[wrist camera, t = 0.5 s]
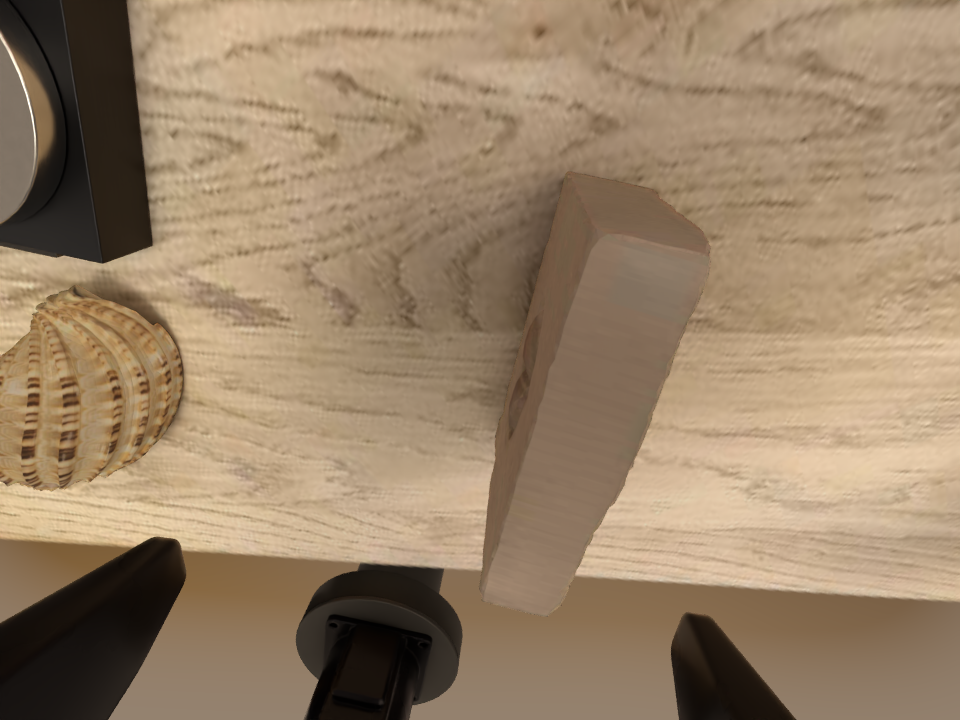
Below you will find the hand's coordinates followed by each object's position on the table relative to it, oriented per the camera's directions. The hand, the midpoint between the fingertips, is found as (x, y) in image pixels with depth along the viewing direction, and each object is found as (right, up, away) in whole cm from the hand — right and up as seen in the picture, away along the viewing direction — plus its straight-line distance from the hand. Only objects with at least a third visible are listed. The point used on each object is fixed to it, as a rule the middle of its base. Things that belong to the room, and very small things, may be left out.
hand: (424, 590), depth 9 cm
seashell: (-17, +4, +16) cm, 24 cm away
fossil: (+5, +6, +13) cm, 14 cm away
